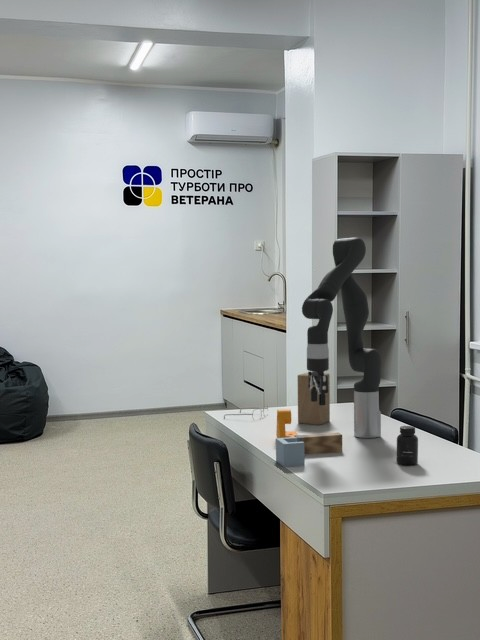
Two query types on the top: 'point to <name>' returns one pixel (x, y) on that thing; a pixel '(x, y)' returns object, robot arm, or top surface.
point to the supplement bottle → (407, 446)
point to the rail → (321, 443)
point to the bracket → (283, 419)
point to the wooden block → (311, 403)
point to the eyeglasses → (249, 414)
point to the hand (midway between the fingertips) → (317, 403)
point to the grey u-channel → (290, 452)
